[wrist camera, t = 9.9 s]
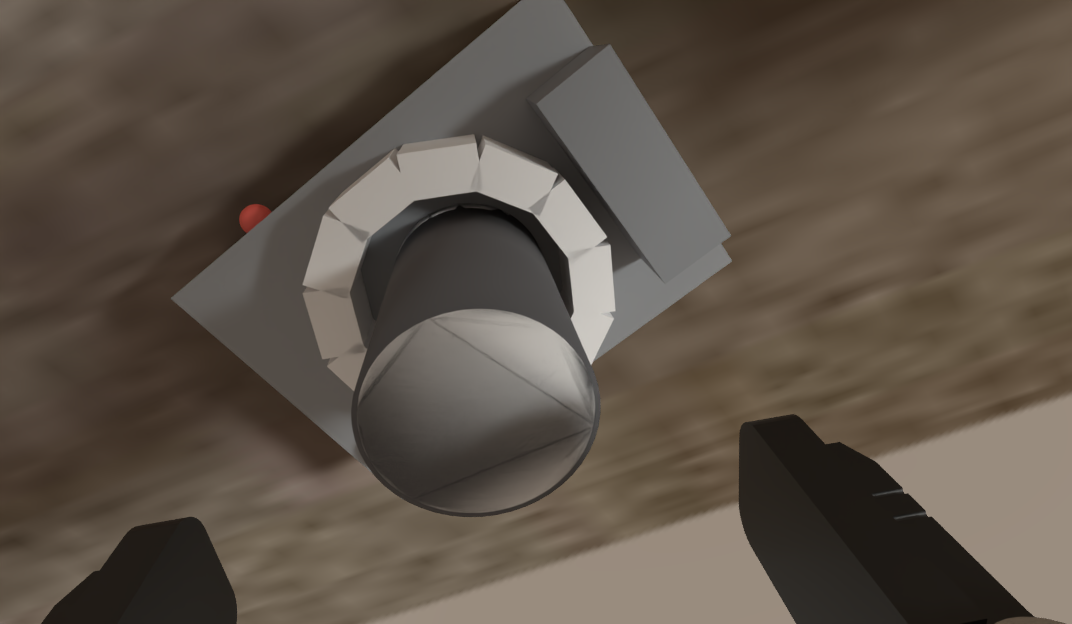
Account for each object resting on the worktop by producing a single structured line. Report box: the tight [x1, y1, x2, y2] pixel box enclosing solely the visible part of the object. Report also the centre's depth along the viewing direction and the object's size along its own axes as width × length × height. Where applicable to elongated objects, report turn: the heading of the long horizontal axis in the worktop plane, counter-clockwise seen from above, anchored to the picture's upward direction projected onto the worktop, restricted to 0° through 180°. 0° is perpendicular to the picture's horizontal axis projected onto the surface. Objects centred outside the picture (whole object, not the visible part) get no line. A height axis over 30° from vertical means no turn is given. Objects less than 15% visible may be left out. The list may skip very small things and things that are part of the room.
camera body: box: [171, 0, 732, 498], centre depth 19 cm, size 14×11×7 cm
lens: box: [351, 203, 600, 517], centre depth 15 cm, size 5×5×8 cm
